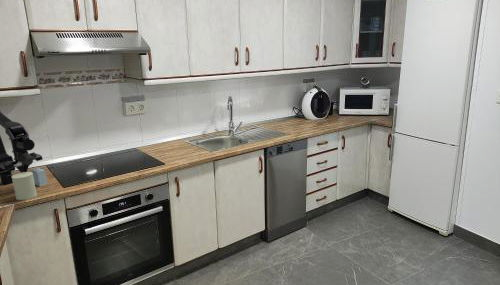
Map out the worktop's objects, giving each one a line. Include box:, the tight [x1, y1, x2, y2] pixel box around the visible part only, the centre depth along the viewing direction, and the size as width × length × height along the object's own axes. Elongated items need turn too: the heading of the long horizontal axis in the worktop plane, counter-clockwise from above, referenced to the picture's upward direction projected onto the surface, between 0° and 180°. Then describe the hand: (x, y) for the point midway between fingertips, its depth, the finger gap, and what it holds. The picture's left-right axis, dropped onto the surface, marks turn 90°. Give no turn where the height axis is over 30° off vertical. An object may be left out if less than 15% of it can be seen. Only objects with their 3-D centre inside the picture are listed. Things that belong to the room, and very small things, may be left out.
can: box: [12, 171, 38, 201], centre depth 181 cm, size 9×9×12 cm
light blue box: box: [30, 167, 48, 187], centre depth 198 cm, size 7×4×8 cm, turn 57°
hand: (25, 176), depth 192 cm, fingers closed
